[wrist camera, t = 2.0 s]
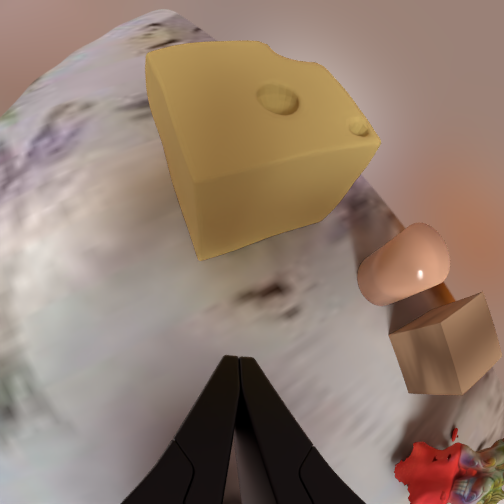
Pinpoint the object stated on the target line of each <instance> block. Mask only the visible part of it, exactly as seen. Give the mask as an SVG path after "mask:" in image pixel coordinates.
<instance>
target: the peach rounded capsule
mask: <svg viewBox="0 0 504 504" xmlns="http://www.w3.org/2000/svg"><path fill="white" fill-rule="evenodd" d="M449 268H450V255H449V251H448V248H447V245H446V243H445V241H444V240H443V238H442V236H441V235H440V234H439V233H438V232H437V231H436V230H435V229H434V228H432V227H431V226H429V225H427V224H424V223H414V224H412V225H410V226H409V227H407V228H406V229H405V230H403V231H402V232H401V233H400V234H398V235H397V236H396V237H394V238H393V239H392V240H390V241H389V242H388V243H386V244H385V245H384V246H382V247H381V248H379V249H378V250H377V251H375V252H374V253H373V254H371V255H370V256H369V257H367V258H366V259H365V260H363V262H362V263H361V264H360V266H359V269H358V274H357V280H358V285H359V288H360V291H361V293H362V294H363V296H364V297H365V298H366V299H367V300H368V301H369V302H371V303H372V304H375V305H378V306H386V305H389V304H392V303H395V302H397V301H400V300H402V299H405V298H407V297H410V296H412V295H414V294H417V293H419V292H422V291H424V290H426V289H429V288H431V287H433V286H436V285H438V284H440V283H442V282H443V281H444V280H445V278H446V277H447V275H448V273H449Z"/></svg>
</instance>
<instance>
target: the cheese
mask: <svg viewBox="0 0 504 504" xmlns="http://www.w3.org/2000/svg"><path fill="white" fill-rule="evenodd" d="M145 74H146V89H147V96H148V101H149V105H150V109H151V112H152V115H153V118H154V121H155V124H156V127H157V129H158V132H159V135H160V138H161V141H162V144H163V147H164V152H165V156H166V160H167V164H168V168H169V172H170V175H171V179H172V183H173V186H174V189H175V192H176V195H177V198H178V201H179V204H180V207H181V210H182V213H183V216H184V219H185V222H186V225H187V227H188V230H189V233H190V236H191V239H192V242H193V246H194V249H195V252H196V255H197V258H198V260H199V261H202V260H206V259H209V258H213V257H216V256H219V255H222V254H225V253H228V252H231V251H234V250H237V249H239V248H242V247H245V246H247V245H250V244H253V243H255V242H258V241H260V240H263V239H266V238H269V237H271V236H274V235H277V234H281V233H284V232H287V231H290V230H293V229H297V228H300V227H304V226H307V225H311V224H314V223H317V222H320V221H322V220H323V219H324V218H325V217H326V216H327V215H328V214H329V213H330V212H331V211H332V210H333V209H334V208H335V207H336V206H337V205H338V204H339V202H340V201H341V200H342V198H343V197H344V196H345V195H346V193H347V192H348V191H349V189H350V188H351V186H352V185H353V183H354V182H355V181H356V179H357V178H358V177H359V176H360V174H361V173H362V172H363V171H364V169H365V168H366V167H367V165H368V164H369V162H370V161H371V159H372V158H373V156H374V155H375V153H376V151H377V150H378V148H379V146H380V144H381V141H380V138H379V137H378V135H377V134H376V132H375V131H374V129H373V128H372V126H371V125H370V123H369V122H368V120H367V119H366V117H365V116H364V114H363V113H362V112H361V110H360V109H359V108H358V106H357V105H356V103H355V102H354V101H353V99H352V98H351V97H350V95H349V94H348V93H347V91H346V90H345V89H344V88H343V87H342V86H341V84H340V83H339V82H338V81H337V80H336V79H335V78H334V77H333V76H332V74H331V73H330V72H329V71H328V70H327V69H326V68H325V67H324V66H322V65H320V64H318V63H315V62H303V61H296V60H292V59H289V58H285V57H283V56H281V55H278V54H277V53H275V52H274V51H273V50H272V49H271V48H270V47H269V46H268V45H267V44H264V43H262V42H259V41H215V42H196V43H187V44H180V45H175V46H170V47H166V48H162V49H158V50H155V51H151V52H149V53H147V55H146V64H145Z"/></svg>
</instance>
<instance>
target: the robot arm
mask: <svg viewBox="0 0 504 504" xmlns="http://www.w3.org/2000/svg"><path fill="white" fill-rule="evenodd" d="M233 435H234V443H235V452H236V461H237V469H238V478H239V486H240V494H241V501H242V504H366V503H365V502H364V501H363V500H362V499H361V498H360V497H359V496H358V495H356V494H355V493H354V492H353V491H352V490H351V489H350V488H349V487H348V486H347V485H346V484H345V483H344V482H343V480H342V479H341V478H340V477H339V476H338V475H337V474H336V473H335V472H334V471H333V470H332V468H331V467H330V466H329V465H328V463H327V462H326V461H325V460H324V458H323V457H322V456H321V454H320V453H319V452H318V450H317V449H316V448H315V446H313V444H312V442H311V441H310V439H309V438H308V437H307V435H306V434H305V432H304V431H303V430H302V428H301V427H300V425H299V424H298V422H297V421H296V420H295V418H294V417H293V415H292V414H291V412H290V411H289V410H288V408H287V407H286V405H285V404H284V402H283V401H282V399H281V398H280V396H279V395H278V393H277V392H276V390H275V389H274V388H273V386H272V385H271V383H270V382H269V380H268V379H267V377H266V376H265V374H264V372H263V371H262V369H261V368H260V366H259V365H258V363H257V362H256V360H255V359H254V358H252V357H239V358H238V357H237V356H231V355H224V356H223V357H222V359H221V361H220V362H219V364H218V366H217V367H216V369H215V371H214V372H213V374H212V376H211V377H210V379H209V381H208V382H207V384H206V386H205V387H204V389H203V391H202V392H201V394H200V396H199V397H198V399H197V401H196V402H195V404H194V405H193V407H192V409H191V410H190V412H189V414H188V415H187V417H186V418H185V420H184V422H183V423H182V425H181V427H180V428H179V430H178V431H177V433H176V435H175V436H174V438H173V440H172V441H171V442H170V444H169V445H168V447H167V449H166V450H165V452H164V453H163V455H162V456H161V457H160V459H159V460H158V462H157V463H156V465H155V466H154V467H153V468H152V469H151V471H150V472H149V473H148V474H147V475H146V477H145V478H144V479H143V480H142V481H141V482H140V483H139V484H138V486H137V487H136V488H135V489H134V490H133V491H132V492H131V493H130V494H129V495H128V496H127V497H126V498H125V499H124V501H123V502H122V503H121V504H222V502H223V496H224V490H225V484H226V478H227V472H228V466H229V460H230V454H231V448H232V442H233ZM312 446H313V447H312Z"/></svg>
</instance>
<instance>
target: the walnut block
mask: <svg viewBox="0 0 504 504" xmlns="http://www.w3.org/2000/svg"><path fill="white" fill-rule="evenodd" d="M389 338H390V340H391V343H392V346H393V349H394V351H395V354H396V357H397V360H398V363H399V366H400V368H401V371H402V374H403V377H404V380H405V383H406V386H407V389H408V393H413V394H432V395H463V394H464V393H465V392H466V391H468V390H469V389H470V388H471V387H472V386H473V385H474V384H475V383H476V382H477V381H478V380H479V379H480V378H481V377H482V376H483V375H484V374H485V373H486V372H487V371H488V370H489V369H490V368H491V367H492V366H493V365H494V364H495V363H496V362H497V361H498V360H499V359H500V358H501V357H502V353H501V349H500V345H499V341H498V338H497V334H496V331H495V327H494V324H493V320H492V317H491V314H490V311H489V308H488V305H487V302H486V299H485V297H484V294H483V292H480V293H478V294H475V295H472V296H470V297H467V298H464V299H461V300H459V301H456V302H453V303H450V304H447V305H444V306H441V307H438V308H435V309H432V310H430V311H429V312H427V313H426V314H424V315H422V316H421V317H419V318H417V319H416V320H414V321H412V322H411V323H409V324H407V325H406V326H404V327H402V328H400V329H399V330H397V331H395V332H393V333H392V334H390V335H389Z"/></svg>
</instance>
